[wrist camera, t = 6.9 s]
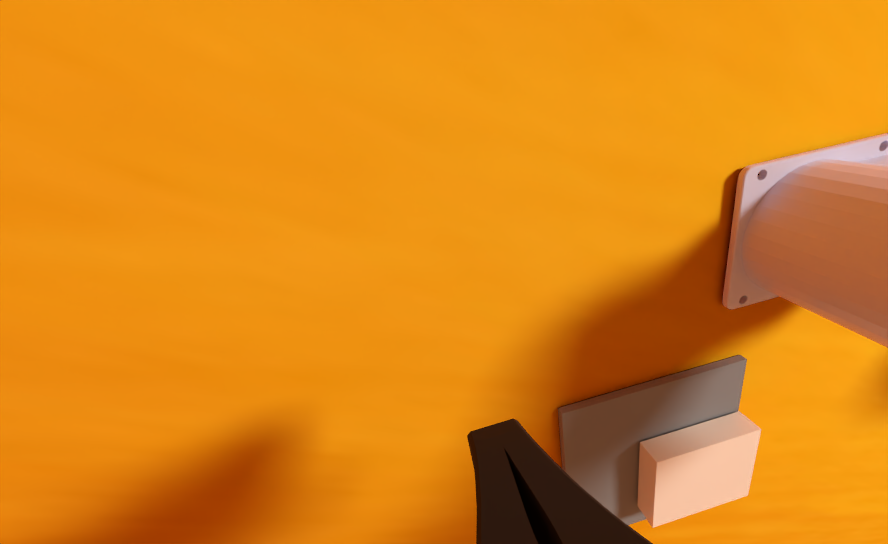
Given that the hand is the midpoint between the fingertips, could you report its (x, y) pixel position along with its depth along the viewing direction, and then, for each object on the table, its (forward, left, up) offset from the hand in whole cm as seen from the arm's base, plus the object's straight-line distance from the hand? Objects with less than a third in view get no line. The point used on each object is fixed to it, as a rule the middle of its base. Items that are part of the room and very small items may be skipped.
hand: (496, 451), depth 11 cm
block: (-11, +16, -8) cm, 21 cm away
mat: (-12, +15, -9) cm, 21 cm away
